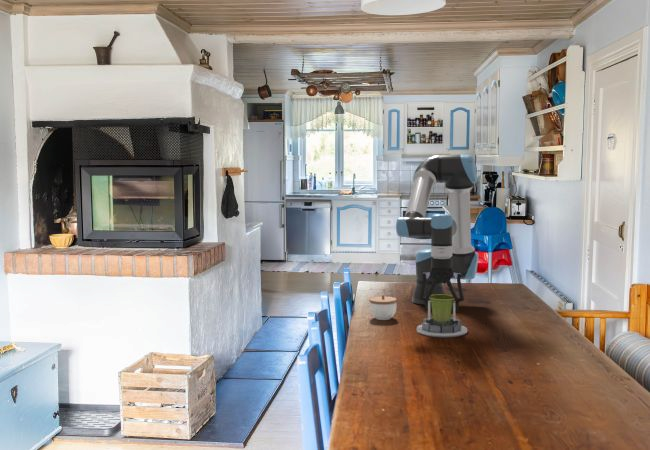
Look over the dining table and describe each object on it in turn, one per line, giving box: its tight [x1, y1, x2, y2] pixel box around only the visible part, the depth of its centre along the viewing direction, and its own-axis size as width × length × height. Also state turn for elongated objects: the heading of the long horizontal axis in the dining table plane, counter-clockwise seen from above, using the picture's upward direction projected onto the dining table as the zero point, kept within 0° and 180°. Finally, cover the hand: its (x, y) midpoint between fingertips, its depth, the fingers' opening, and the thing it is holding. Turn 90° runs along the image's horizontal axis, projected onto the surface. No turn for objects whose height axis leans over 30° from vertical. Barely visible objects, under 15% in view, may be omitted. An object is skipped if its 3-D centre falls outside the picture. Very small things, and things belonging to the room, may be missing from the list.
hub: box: [416, 316, 468, 338], centre depth 243 cm, size 18×18×4 cm
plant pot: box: [429, 294, 455, 322], centre depth 242 cm, size 9×9×9 cm
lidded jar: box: [368, 294, 398, 321], centre depth 265 cm, size 11×11×9 cm
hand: (441, 319), depth 243 cm, fingers closed on plant pot, 8 cm apart
